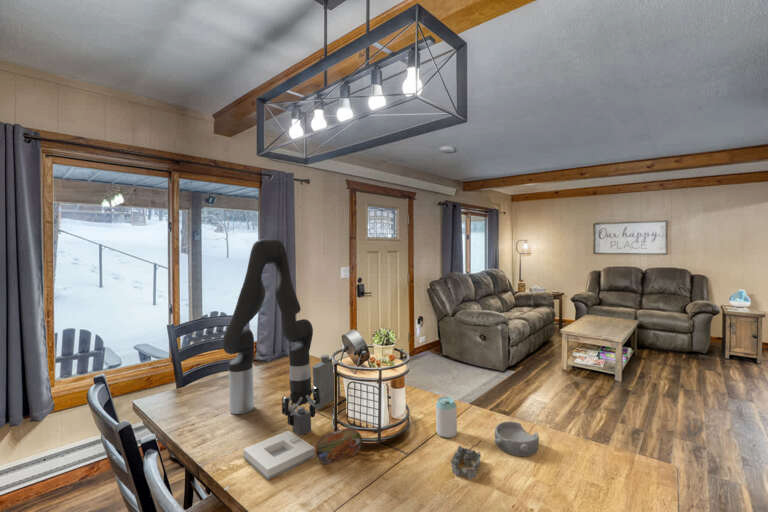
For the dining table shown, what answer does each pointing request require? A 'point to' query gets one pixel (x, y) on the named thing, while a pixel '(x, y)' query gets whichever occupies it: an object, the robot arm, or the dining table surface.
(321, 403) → the hip flask
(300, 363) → the robot arm
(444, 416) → the can
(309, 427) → the plug
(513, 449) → the dish
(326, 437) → the tin
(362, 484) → the dining table surface
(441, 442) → the dining table surface
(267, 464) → the socket
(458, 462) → the grey jagged ring
